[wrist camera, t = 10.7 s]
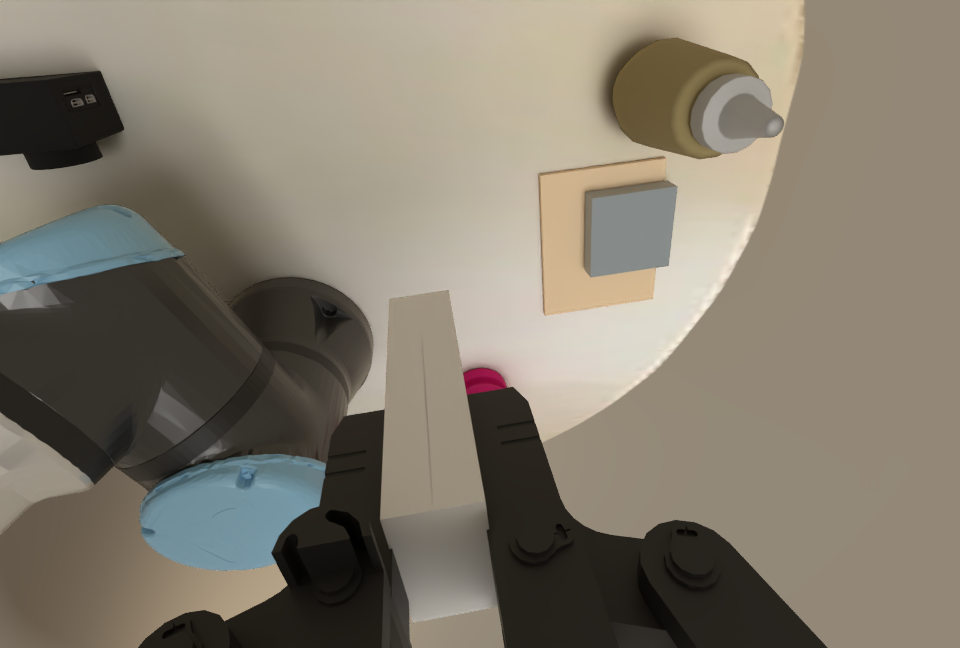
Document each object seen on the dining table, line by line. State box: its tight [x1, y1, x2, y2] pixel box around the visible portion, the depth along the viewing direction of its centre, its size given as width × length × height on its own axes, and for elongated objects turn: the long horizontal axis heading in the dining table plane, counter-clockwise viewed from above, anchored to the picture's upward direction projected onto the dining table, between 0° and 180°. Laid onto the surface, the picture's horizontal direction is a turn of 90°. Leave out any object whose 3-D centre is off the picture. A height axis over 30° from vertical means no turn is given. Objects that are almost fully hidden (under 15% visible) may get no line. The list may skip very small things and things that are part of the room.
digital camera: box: [0, 71, 124, 170], centre depth 36 cm, size 10×5×7 cm, turn 94°
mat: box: [539, 157, 666, 316], centre depth 50 cm, size 12×15×1 cm
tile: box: [584, 181, 677, 278], centre depth 48 cm, size 2×8×8 cm
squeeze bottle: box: [613, 38, 784, 159], centre depth 36 cm, size 8×8×18 cm
